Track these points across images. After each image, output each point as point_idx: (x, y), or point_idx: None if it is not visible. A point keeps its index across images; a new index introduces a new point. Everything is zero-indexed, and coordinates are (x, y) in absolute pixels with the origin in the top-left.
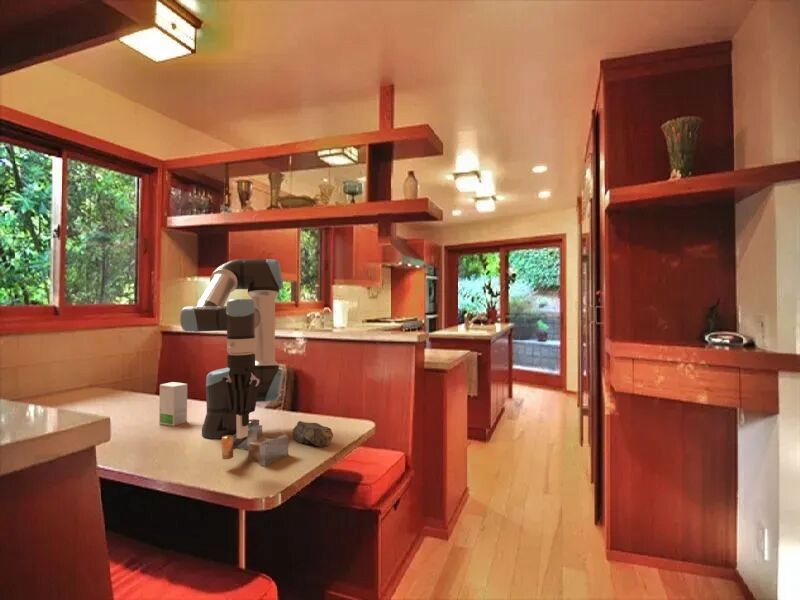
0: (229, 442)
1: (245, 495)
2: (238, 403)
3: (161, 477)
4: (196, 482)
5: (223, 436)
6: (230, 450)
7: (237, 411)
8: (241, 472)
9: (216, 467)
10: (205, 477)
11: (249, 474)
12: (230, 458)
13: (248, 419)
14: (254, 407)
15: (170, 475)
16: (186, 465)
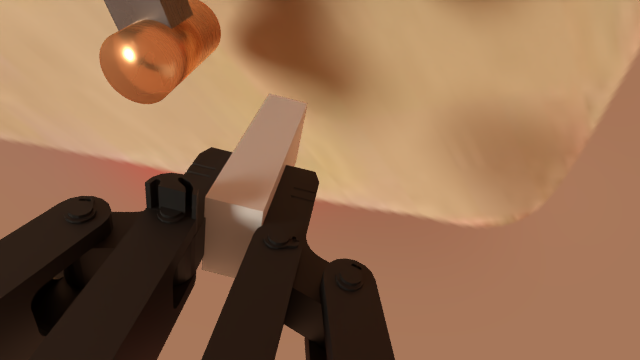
0: (182, 78)
1: (445, 220)
2: (153, 352)
3: (60, 146)
4: None
5: (106, 69)
6: (204, 55)
7: (191, 284)
8: (313, 51)
9: None
10: (204, 123)
11: (364, 65)
12: (219, 41)
13: (311, 208)
14: (379, 322)
15: (69, 128)
16: (16, 28)
